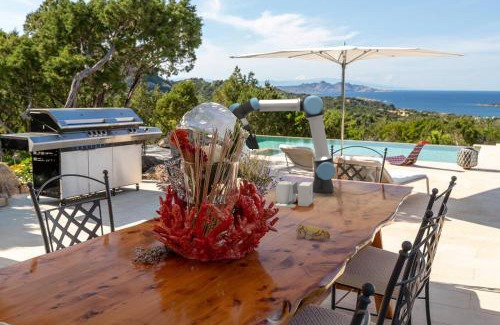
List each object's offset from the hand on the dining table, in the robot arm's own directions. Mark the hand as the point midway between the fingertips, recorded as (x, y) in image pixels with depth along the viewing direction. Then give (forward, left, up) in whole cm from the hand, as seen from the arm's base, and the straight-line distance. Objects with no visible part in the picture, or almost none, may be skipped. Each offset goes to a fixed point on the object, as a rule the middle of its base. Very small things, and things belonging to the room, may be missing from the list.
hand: (260, 159), depth 293 cm
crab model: (+19, +90, -24) cm, 95 cm away
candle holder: (-5, +21, -24) cm, 32 cm away
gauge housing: (-8, +29, -24) cm, 38 cm away
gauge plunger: (-10, +30, -23) cm, 39 cm away
